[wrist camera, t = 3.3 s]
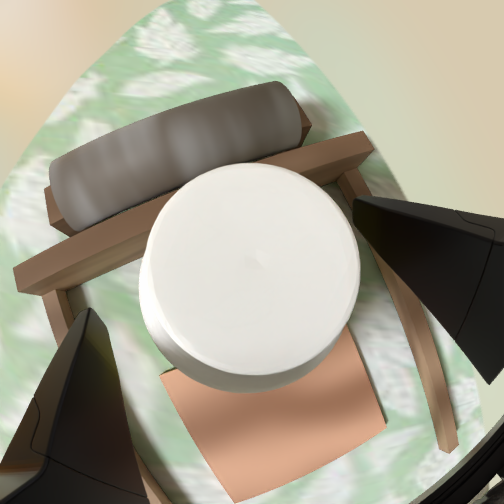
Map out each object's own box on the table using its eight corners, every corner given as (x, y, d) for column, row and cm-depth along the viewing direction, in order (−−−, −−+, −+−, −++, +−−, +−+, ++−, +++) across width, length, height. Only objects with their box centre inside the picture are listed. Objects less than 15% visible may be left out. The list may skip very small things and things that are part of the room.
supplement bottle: (246, 235, 16) (279, 93, 6) (311, 318, 15) (443, 286, 5) (159, 296, 15) (57, 227, 5) (224, 385, 14) (226, 477, 4)
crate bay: (448, 440, 15) (498, 460, 9) (209, 562, 11) (211, 613, 6) (311, 113, 18) (338, 58, 13) (34, 220, 15) (-16, 187, 9)
